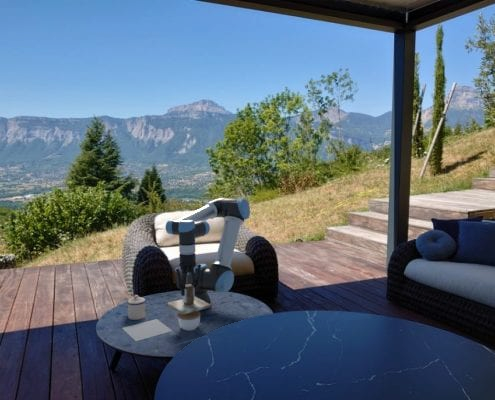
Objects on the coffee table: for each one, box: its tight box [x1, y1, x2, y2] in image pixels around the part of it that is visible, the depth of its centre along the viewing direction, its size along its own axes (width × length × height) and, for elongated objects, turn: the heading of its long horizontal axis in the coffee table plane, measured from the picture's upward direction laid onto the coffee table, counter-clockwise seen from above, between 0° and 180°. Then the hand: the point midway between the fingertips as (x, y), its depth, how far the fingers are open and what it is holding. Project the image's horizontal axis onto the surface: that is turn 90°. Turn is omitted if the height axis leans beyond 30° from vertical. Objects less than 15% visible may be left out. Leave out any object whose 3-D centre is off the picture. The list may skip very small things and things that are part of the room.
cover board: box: [167, 284, 211, 314], centre depth 195 cm, size 15×15×10 cm
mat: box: [121, 318, 173, 342], centre depth 196 cm, size 18×18×1 cm
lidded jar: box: [177, 310, 201, 332], centre depth 196 cm, size 11×11×9 cm
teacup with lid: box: [126, 294, 147, 321], centre depth 212 cm, size 12×9×12 cm
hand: (188, 300), depth 195 cm, fingers closed on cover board, 3 cm apart
